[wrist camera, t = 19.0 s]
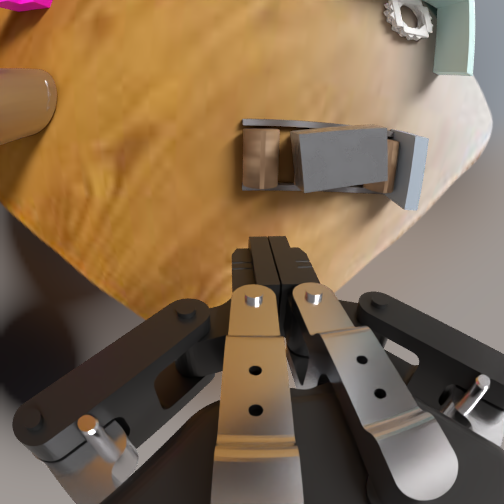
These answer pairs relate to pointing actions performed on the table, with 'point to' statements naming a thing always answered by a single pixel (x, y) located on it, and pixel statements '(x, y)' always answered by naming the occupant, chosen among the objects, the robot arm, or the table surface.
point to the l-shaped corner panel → (441, 31)
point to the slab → (339, 156)
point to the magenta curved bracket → (25, 4)
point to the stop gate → (409, 169)
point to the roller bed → (267, 158)
